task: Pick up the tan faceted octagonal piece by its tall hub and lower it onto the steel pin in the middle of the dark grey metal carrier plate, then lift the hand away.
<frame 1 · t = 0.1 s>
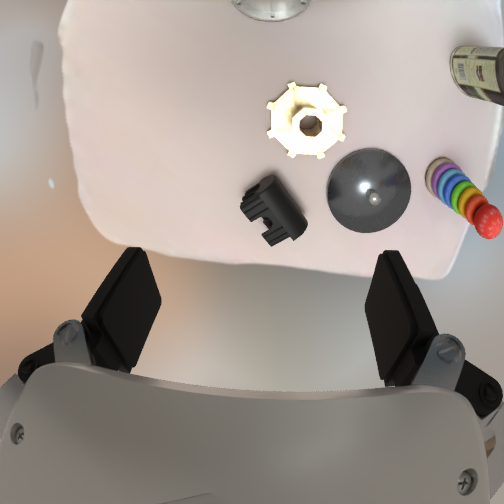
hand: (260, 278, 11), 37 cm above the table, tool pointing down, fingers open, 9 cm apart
carrier plate: (369, 191, 45), on the table
coffee can: (469, 71, 28), on the table
stacking toy: (440, 176, 41), on the table
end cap: (275, 201, 49), on the table
tan faceted octagonal piece: (306, 119, 39), on the table
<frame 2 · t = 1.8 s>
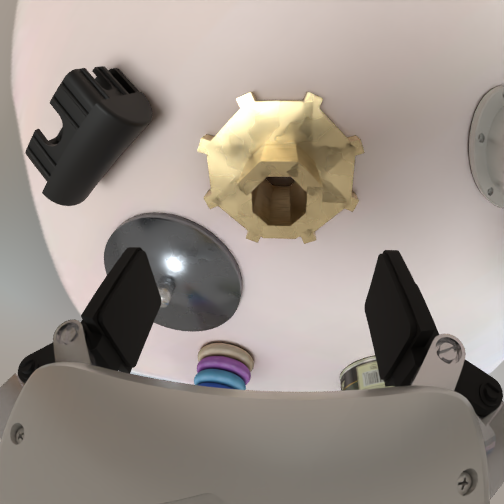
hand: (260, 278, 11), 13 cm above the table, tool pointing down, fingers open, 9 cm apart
carrier plate: (170, 277, 30), on the table
coffee can: (371, 371, 37), on the table
stacking toy: (226, 354, 38), on the table
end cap: (109, 125, 20), on the table
tan faceted octagonal piece: (281, 167, 21), on the table
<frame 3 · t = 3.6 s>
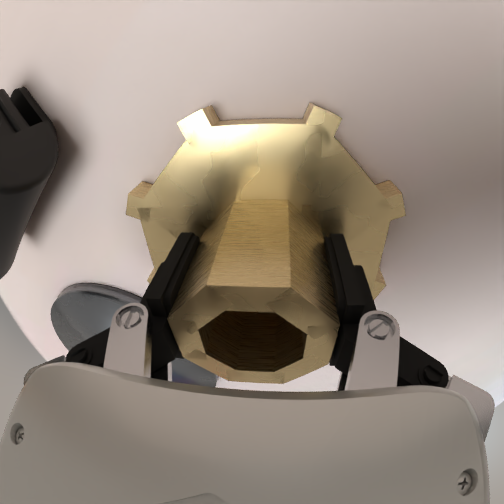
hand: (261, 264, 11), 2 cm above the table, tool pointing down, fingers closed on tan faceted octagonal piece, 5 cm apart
carrier plate: (130, 350, 22), on the table
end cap: (26, 168, 12), on the table
tan faceted octagonal piece: (264, 233, 13), on the table, touching gripper
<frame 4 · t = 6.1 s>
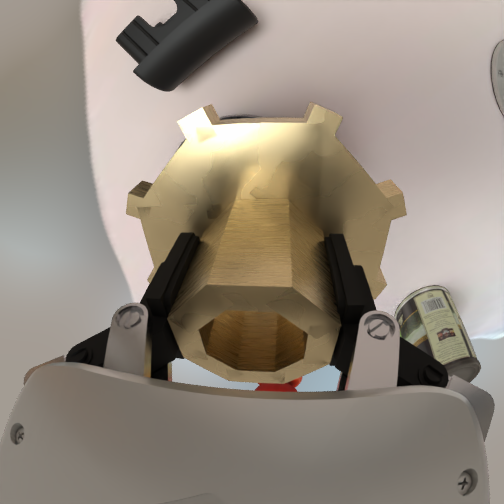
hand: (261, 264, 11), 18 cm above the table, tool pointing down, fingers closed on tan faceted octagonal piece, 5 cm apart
coffee can: (423, 308, 37), on the table
stacking toy: (285, 290, 37), on the table
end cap: (199, 35, 20), on the table
tan faceted octagonal piece: (265, 233, 13), point 16 cm above the table, touching gripper
when the fingers open (5 cm above the table, at t = 8.6 s): tan faceted octagonal piece drops 1 cm, resting on carrier plate.
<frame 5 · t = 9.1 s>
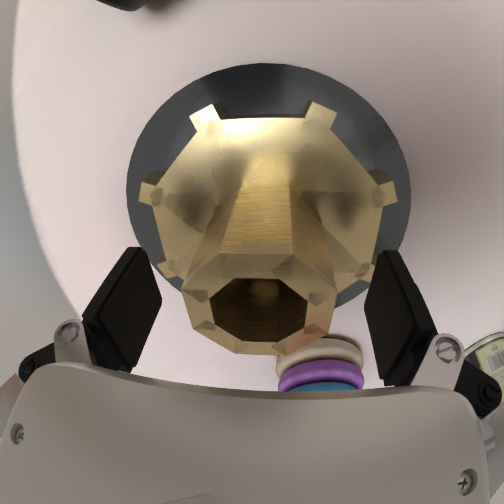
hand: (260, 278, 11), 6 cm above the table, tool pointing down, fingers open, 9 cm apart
carrier plate: (267, 210, 15), on the table
coffee can: (476, 356, 24), on the table
stacking toy: (319, 356, 24), on the table
tan faceted octagonal piece: (267, 219, 14), point 1 cm above the table, touching carrier plate
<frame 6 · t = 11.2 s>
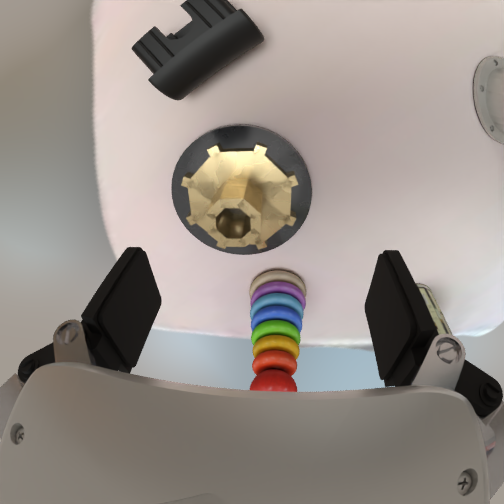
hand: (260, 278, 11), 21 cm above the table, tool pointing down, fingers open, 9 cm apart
carrier plate: (240, 192, 31), on the table
coffee can: (406, 305, 41), on the table
stacking toy: (277, 287, 40), on the table
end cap: (206, 47, 22), on the table
tan faceted octagonal piece: (240, 195, 30), point 1 cm above the table, touching carrier plate
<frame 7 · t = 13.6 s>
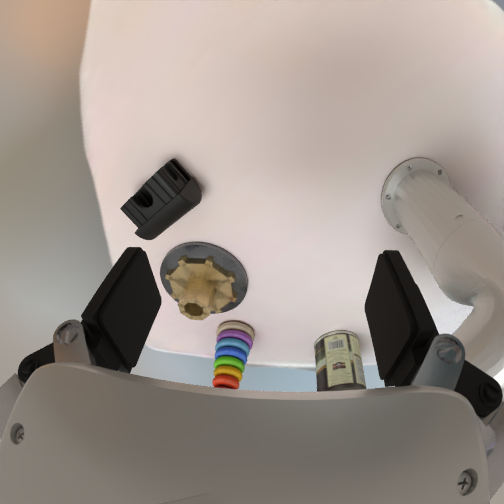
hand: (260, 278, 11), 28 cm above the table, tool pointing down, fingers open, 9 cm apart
carrier plate: (203, 278, 49), on the table
coffee can: (336, 343, 58), on the table
stacking toy: (236, 330, 58), on the table
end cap: (169, 191, 40), on the table
tan faceted octagonal piece: (202, 283, 48), point 1 cm above the table, touching carrier plate
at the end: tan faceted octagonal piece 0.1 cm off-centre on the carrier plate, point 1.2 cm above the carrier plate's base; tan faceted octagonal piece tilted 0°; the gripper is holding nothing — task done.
